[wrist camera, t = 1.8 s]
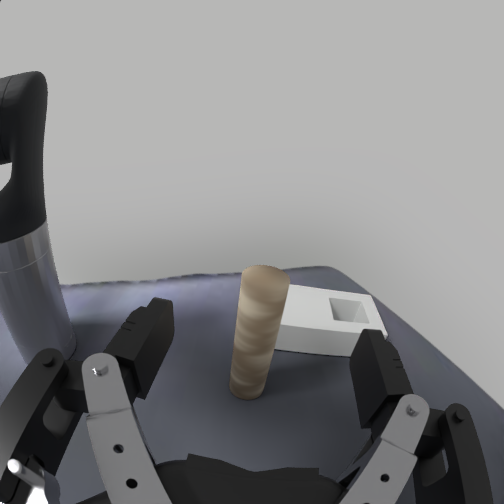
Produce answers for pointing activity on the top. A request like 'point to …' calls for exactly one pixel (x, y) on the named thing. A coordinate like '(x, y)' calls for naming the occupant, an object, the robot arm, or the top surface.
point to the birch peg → (257, 328)
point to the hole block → (325, 321)
